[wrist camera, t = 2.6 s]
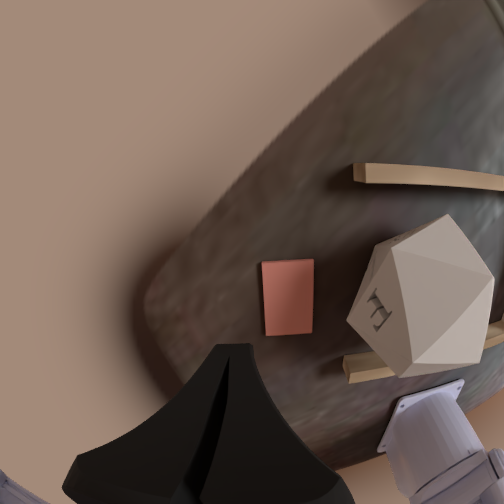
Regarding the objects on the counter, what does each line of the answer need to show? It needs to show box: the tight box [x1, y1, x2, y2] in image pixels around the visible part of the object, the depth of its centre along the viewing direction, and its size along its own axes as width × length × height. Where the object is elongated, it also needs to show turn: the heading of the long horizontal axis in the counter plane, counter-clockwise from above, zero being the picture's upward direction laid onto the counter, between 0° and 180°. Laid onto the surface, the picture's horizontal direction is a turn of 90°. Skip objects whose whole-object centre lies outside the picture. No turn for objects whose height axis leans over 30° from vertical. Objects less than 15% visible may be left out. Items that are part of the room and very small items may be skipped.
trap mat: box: [262, 259, 314, 336], centre depth 17 cm, size 5×3×1 cm, turn 4°
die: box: [346, 214, 494, 378], centre depth 13 cm, size 8×9×10 cm
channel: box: [342, 163, 504, 383], centre depth 15 cm, size 14×18×3 cm
